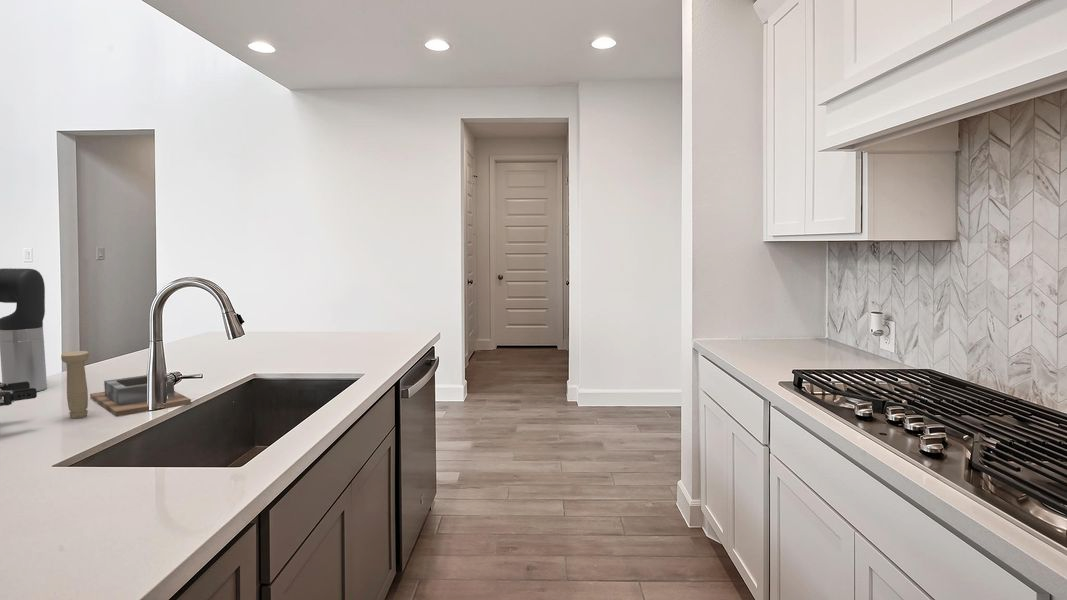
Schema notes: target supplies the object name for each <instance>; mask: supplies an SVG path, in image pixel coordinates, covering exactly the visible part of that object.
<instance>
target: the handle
mask: <svg viewBox="0 0 1067 600" xmlns="http://www.w3.org/2000/svg"><path fill="white" fill-rule="evenodd" d="M60 355H61V358H60V359H61V361H62V362H63V363H65V364H66V400H67V407H68V410H69V412H68V413H69V417H70V418H71V419H81V418H83V417H87V416H88V413H89V412H88V410H87V409H88V405H89V403H88V402H89V394H88V393H89V392H88V391H89V389H88V383H87V377H86V368H85V366H86V365H85V362H86V361H87V360H89V351H86V350H75V351H67V352H64V353H62V354H60Z"/></svg>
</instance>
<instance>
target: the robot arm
mask: <svg viewBox="0 0 1067 600" xmlns="http://www.w3.org/2000/svg"><path fill="white" fill-rule="evenodd" d="M43 277H44V276H43V275H42V274H41V273H40V271H38V270H37V269H35V268H10V267H9V268H6V267H5V268H4V267H3V268H0V303H4V304H5V303H6V304H9V303H10V304H16V305H15V306H16V307H15V311H13V312H12V313H10V314H9V315H6V316H2V317H0V369H1V372H0V373H1V381H0V407H3V406H11V405H12V403H14V402H17V401H25V400H30V399H31V400H32V399H33V400H34V399H36V398H37V396H38V393H37V392H40V391H44V390H46V389H47V388H48V383H47V381H48V380H47V368H46V366H47V365H46V364H47V363H46V353H45V339H44V338H45V337H44V322H43V321H44V319H45V314H46V306H45V304H46V297H45V296H46V295H45V294H46V291H45V290H46V287H45V281H44V278H43Z"/></svg>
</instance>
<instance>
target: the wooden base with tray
mask: <svg viewBox="0 0 1067 600" xmlns="http://www.w3.org/2000/svg"><path fill="white" fill-rule="evenodd" d="M147 375H148V374H145V375H138V376H130V377H122V378H116V379H109V380H104V381H103V383H104V384H103V385H104V391H101V392H94V393H90V394H89V395H90V398H89V399H91V400H92V399H93V400H94V401H93V400H92V401H93V402H95V401H96V402H97V404H98V405H99V406H101V407H102V408H104V410H106V411H107V412H108V413H110V414H112V415H113V416H115V417H116V418H117V417H123V416H128V415H134V414H139V413H146V412H150V411H149V406H148V404H147ZM168 379H169V380H168V382H167V396H168V399H167V402H166V403H163V404H158V405H159V406H162V405H163V406H164V407H163V409H167V408H174V407H180V406H185V405H191V404H192V399H191V398H189V397H188V396H185V395H184V394H182V393H180V392H178V391H175V382H174V381H173V380H172V379H170V378H168ZM96 402H95V403H96ZM158 405H157V406H158ZM160 408H161V407H160Z"/></svg>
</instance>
